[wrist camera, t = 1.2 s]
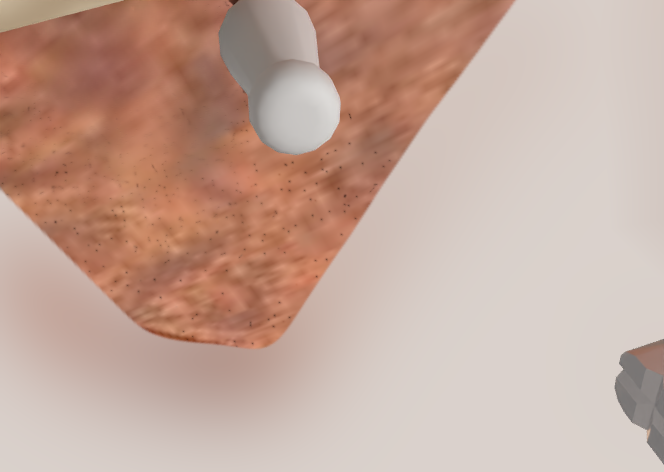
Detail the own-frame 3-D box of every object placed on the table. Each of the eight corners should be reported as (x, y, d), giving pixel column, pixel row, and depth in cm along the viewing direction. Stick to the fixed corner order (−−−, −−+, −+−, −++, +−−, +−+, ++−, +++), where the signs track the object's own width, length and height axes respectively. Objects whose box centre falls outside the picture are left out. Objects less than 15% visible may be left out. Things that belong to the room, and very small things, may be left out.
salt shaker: (231, 83, 36) (251, 189, 26) (203, -6, 33) (215, 77, 23) (316, 62, 37) (368, 157, 27) (298, -29, 33) (351, 42, 23)
